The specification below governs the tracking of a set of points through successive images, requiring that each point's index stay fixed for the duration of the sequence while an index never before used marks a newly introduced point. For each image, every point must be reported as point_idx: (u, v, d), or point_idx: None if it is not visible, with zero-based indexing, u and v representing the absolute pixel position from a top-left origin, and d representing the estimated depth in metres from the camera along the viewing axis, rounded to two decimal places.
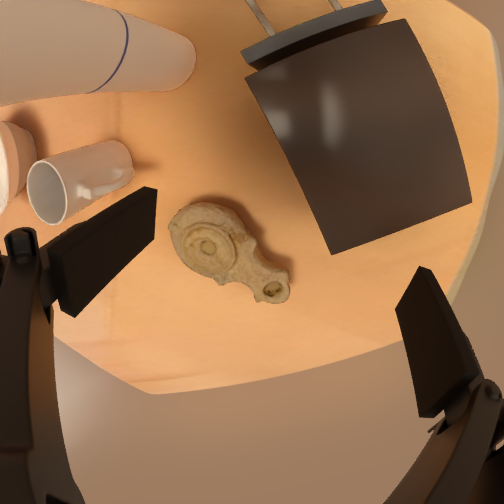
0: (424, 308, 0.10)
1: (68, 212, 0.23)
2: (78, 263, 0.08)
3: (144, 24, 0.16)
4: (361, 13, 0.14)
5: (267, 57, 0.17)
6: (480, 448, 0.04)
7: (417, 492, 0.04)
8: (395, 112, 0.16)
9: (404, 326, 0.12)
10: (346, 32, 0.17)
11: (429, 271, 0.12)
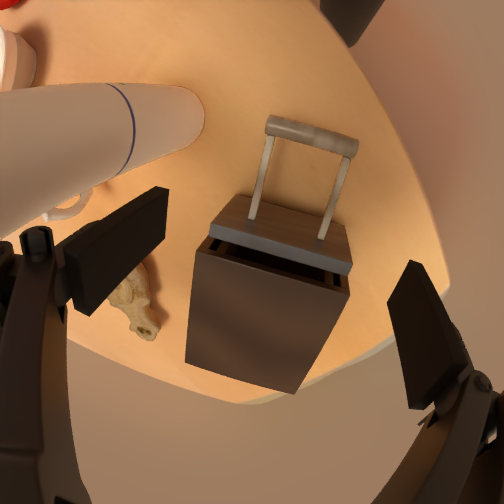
0: (414, 301, 0.11)
1: None
2: (94, 262, 0.09)
3: (156, 130, 0.18)
4: (324, 265, 0.22)
5: None
6: (471, 440, 0.04)
7: (408, 487, 0.04)
8: (278, 336, 0.25)
9: (395, 319, 0.12)
10: None
11: (420, 265, 0.12)
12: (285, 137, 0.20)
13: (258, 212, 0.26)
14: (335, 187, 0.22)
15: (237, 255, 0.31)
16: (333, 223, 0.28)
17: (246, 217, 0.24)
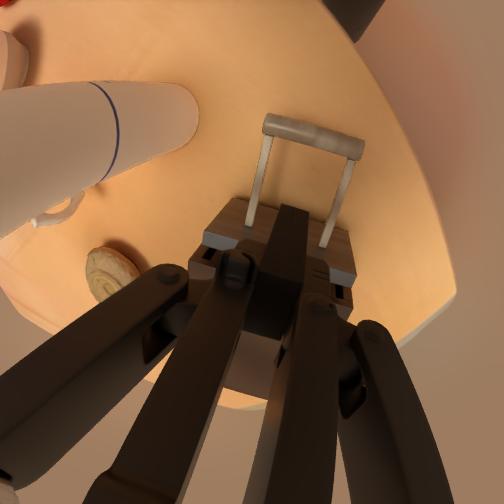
0: None
1: None
2: None
3: (144, 131, 0.17)
4: None
5: None
6: (325, 373, 0.06)
7: (269, 446, 0.05)
8: (277, 349, 0.23)
9: None
10: None
11: (305, 212, 0.14)
12: (284, 137, 0.19)
13: (256, 217, 0.24)
14: (339, 192, 0.20)
15: None
16: (336, 228, 0.26)
17: (242, 223, 0.23)
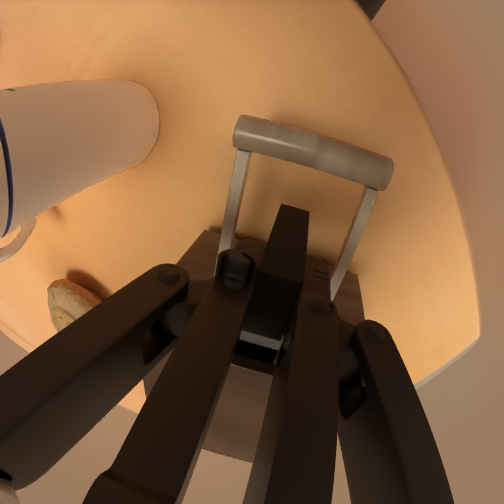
0: None
1: None
2: None
3: (59, 155, 0.10)
4: None
5: None
6: (325, 373, 0.06)
7: (268, 446, 0.05)
8: (260, 427, 0.17)
9: None
10: None
11: (305, 212, 0.14)
12: (267, 154, 0.12)
13: None
14: (350, 237, 0.13)
15: None
16: None
17: (211, 276, 0.16)
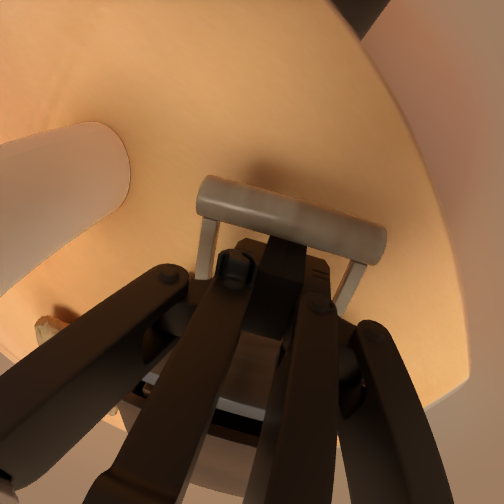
0: None
1: None
2: None
3: (16, 240, 0.09)
4: None
5: None
6: (325, 373, 0.06)
7: (269, 446, 0.05)
8: (239, 475, 0.16)
9: None
10: None
11: None
12: (237, 225, 0.11)
13: None
14: None
15: None
16: None
17: None
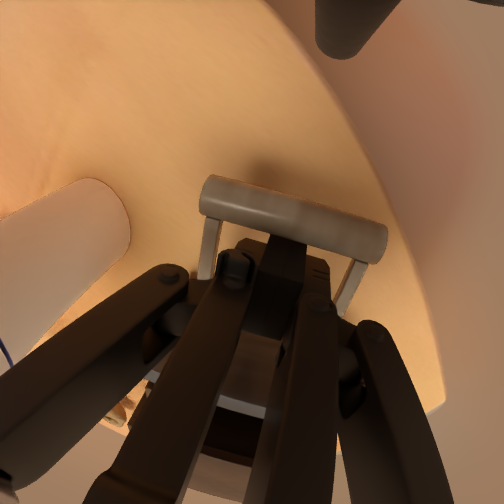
0: None
1: None
2: None
3: (38, 312, 0.11)
4: None
5: None
6: (325, 373, 0.06)
7: (269, 446, 0.05)
8: (232, 484, 0.18)
9: None
10: None
11: None
12: (239, 224, 0.11)
13: None
14: None
15: None
16: None
17: None
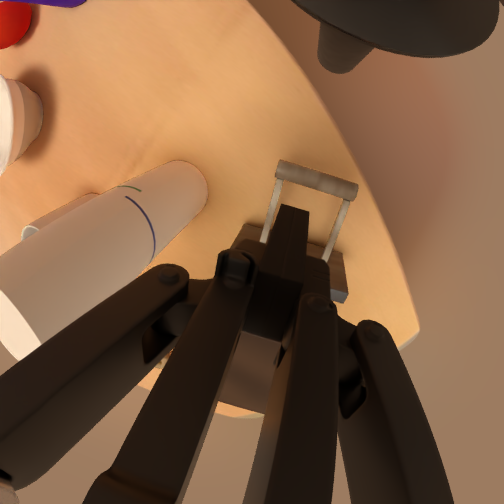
0: None
1: None
2: None
3: (170, 229, 0.24)
4: None
5: None
6: (325, 373, 0.06)
7: (269, 445, 0.05)
8: (269, 378, 0.31)
9: None
10: None
11: (305, 212, 0.14)
12: (293, 181, 0.24)
13: None
14: (335, 226, 0.25)
15: None
16: (332, 251, 0.31)
17: None
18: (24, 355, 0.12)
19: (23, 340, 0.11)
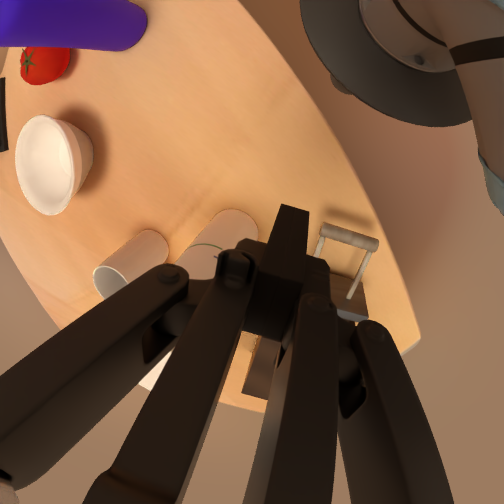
0: None
1: None
2: None
3: None
4: (351, 318, 0.34)
5: None
6: (325, 373, 0.06)
7: (268, 446, 0.05)
8: None
9: None
10: None
11: (305, 212, 0.14)
12: None
13: None
14: (361, 269, 0.33)
15: None
16: None
17: None
18: None
19: None
